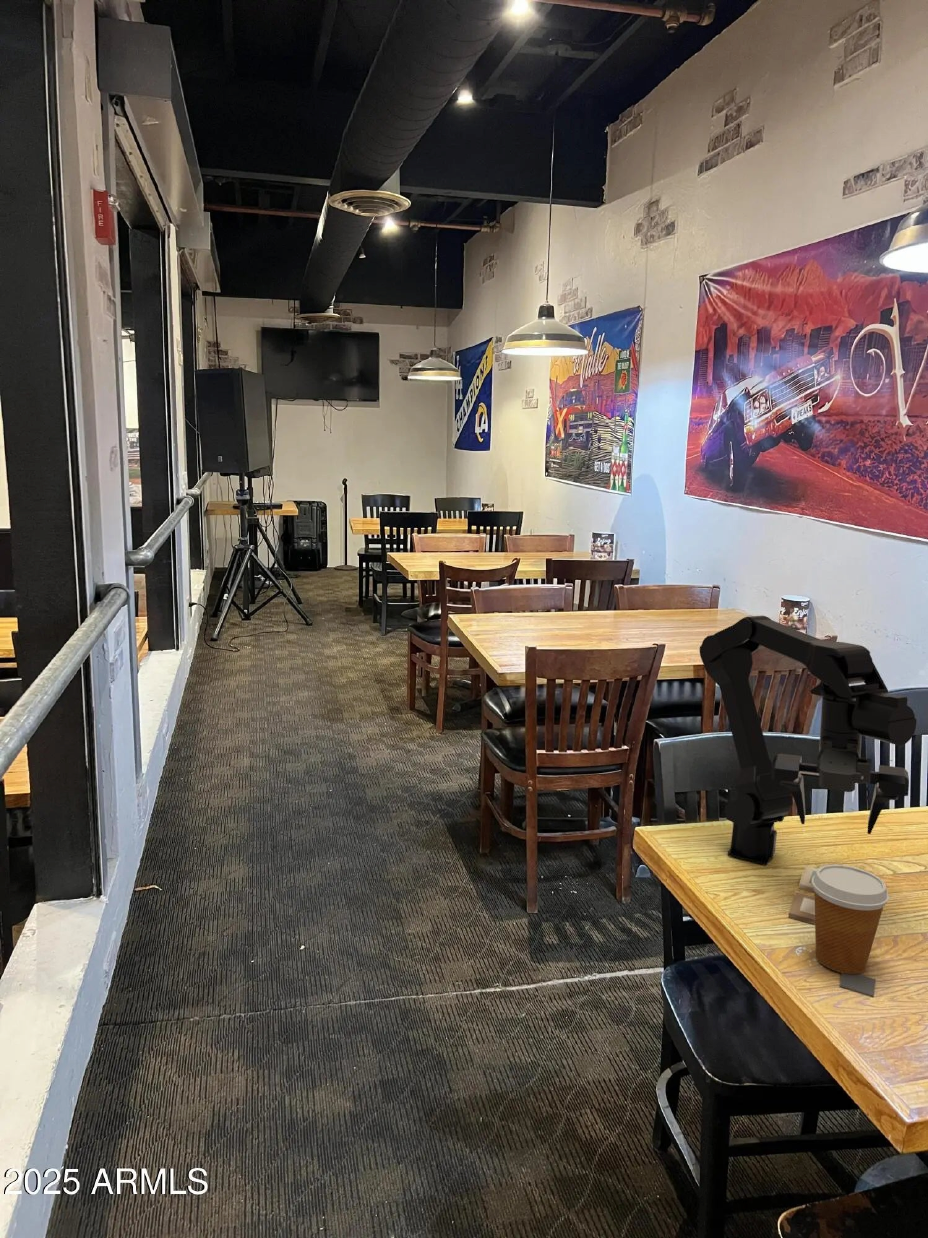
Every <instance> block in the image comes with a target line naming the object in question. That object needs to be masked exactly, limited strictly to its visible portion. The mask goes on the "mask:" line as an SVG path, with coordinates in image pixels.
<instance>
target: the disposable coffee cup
mask: <svg viewBox="0 0 928 1238" xmlns="http://www.w3.org/2000/svg"><path fill="white" fill-rule="evenodd" d="M817 869H818V870H817V871H816V874H815V875H814V876H813V877H812V885H813V888H814V890H815V893H814V892H813V893H814V894H813V895H814V897H815V925H814V927H815V930H814V933H815V934H814V936H815V958H816V959H817V961H818V962H819V963H820V964H821V965H822V966H824V967H826V968H828V969H830V970H832V971H834V972H837V973H841V974H842V973H846V974H861V973H864V972H865V971H866V968H867V965H868V961H869V958H870V953H871V952H872V948H873V945H874V944H873V943H874V940H875V937H876V932H877V929H878V926H879V923H880V919H881V916H882V912H883V909H884V907H885V906H886V904H887V903H888V901H889V899H890V894H889V893H888V891H887V885H886V883H885V881H884V880H883V879H882V878H881V877H879V876H877V875H876V874H873V873H872V872H870V871H868V870H865V869H862V868H860V867H859V868H858V867H855V866H852V865H851V866H850V865H843V864H826V865H822V866H820V867H818V868H817Z"/></svg>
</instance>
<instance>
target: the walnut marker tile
mask: <svg viewBox="0 0 928 1238" xmlns="http://www.w3.org/2000/svg"><path fill="white" fill-rule="evenodd" d="M787 917H788V918H789V919H792V920H796V921H800V922H803V923H806V924H809V925H813V926H815V896H812V895H808V894H805V893H801V892H798V891H796V892H795V895H794V898H793V900H792V903H791V905H790V908H789V911H788V916H787Z"/></svg>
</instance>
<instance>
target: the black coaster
mask: <svg viewBox="0 0 928 1238" xmlns="http://www.w3.org/2000/svg"><path fill="white" fill-rule="evenodd" d="M876 981H877V979H876V978H872V977H869V976H866V975H863V974H861V973H858V974H846V973H841V978H840V982H839V988H843V989H845V990H849V991H852V992H855V993H859V994H861V995H864V996H868V997H872V998H874V996H875V988H876Z"/></svg>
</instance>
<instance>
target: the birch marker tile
mask: <svg viewBox="0 0 928 1238" xmlns="http://www.w3.org/2000/svg"><path fill="white" fill-rule="evenodd" d="M817 870H818V868H816V867H812V866H809V865H805V867H804V870H803V872H802V875H801V878H800V881H799V883H798V889H799V890H803V891H808V892H811V893H815V890H814V888H813V885H812V877H813V876H814V875H815V874H816V871H817Z"/></svg>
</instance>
